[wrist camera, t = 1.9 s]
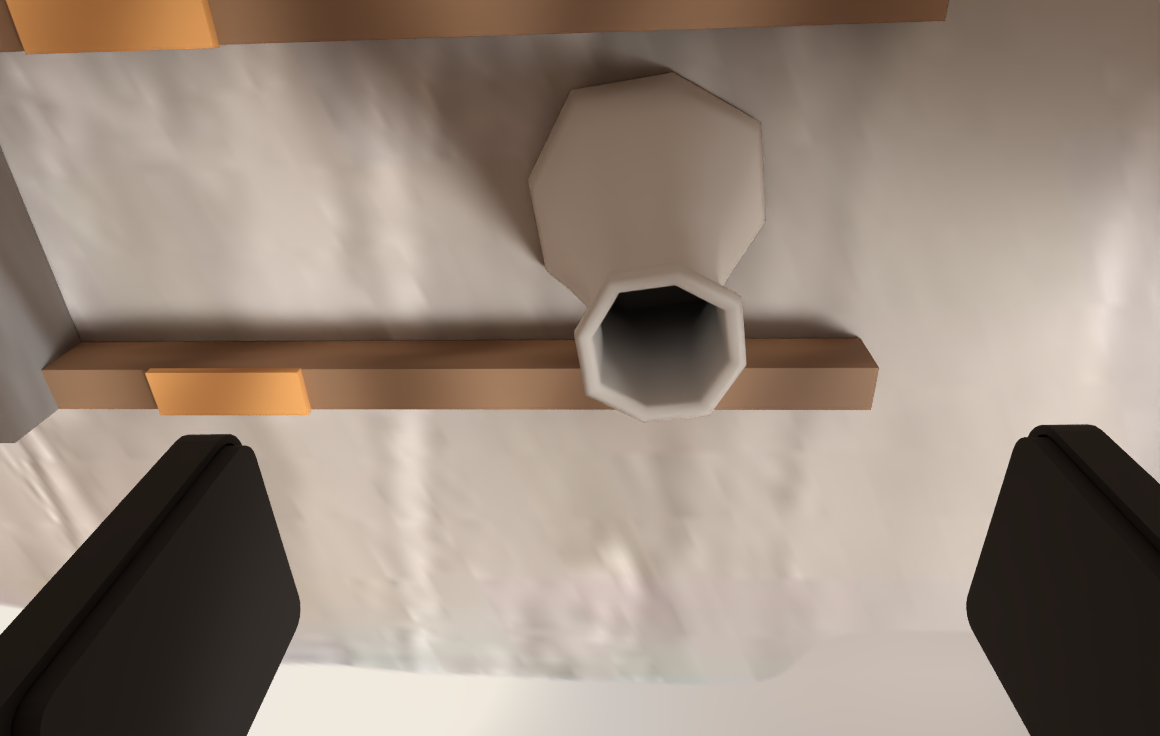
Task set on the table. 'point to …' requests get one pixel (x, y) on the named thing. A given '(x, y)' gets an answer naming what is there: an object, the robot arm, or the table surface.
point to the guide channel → (359, 368)
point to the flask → (652, 238)
